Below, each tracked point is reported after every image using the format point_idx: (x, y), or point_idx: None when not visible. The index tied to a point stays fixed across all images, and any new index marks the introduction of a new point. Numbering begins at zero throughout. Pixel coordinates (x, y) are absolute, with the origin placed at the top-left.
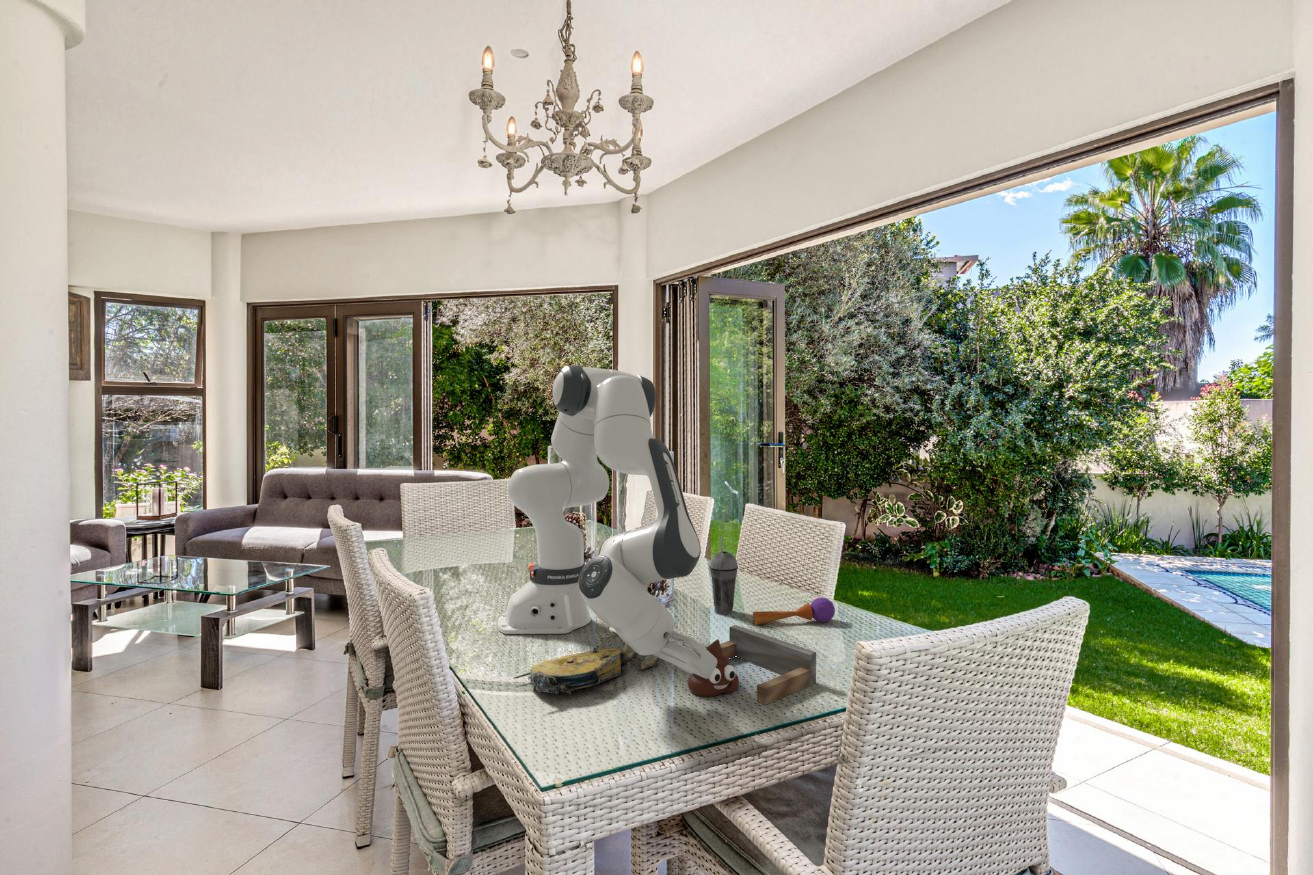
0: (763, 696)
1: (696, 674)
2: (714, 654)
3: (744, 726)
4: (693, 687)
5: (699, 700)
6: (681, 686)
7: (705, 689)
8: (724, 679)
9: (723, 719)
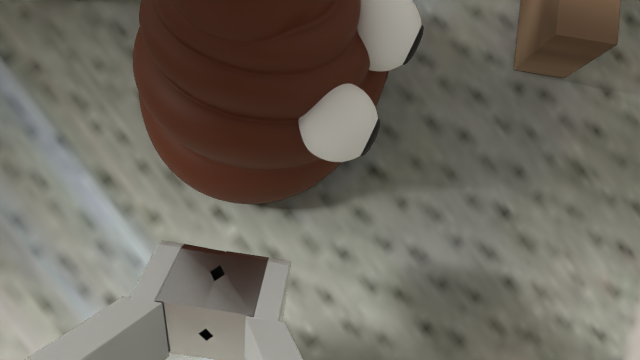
0: (575, 62)
1: (221, 161)
2: (293, 18)
3: (624, 318)
4: (235, 202)
5: (301, 235)
6: (132, 164)
7: (306, 187)
8: (370, 82)
9: (512, 325)
